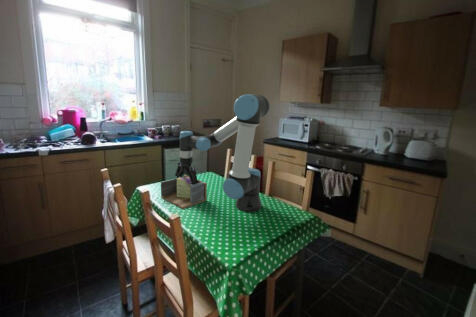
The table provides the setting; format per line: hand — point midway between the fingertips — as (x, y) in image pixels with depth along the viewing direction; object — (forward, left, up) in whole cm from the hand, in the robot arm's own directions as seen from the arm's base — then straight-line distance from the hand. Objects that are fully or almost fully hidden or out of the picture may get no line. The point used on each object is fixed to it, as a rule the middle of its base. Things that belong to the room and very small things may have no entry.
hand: (186, 190), depth 157 cm
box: (0, 0, -4) cm, 4 cm away
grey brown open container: (0, +2, -5) cm, 6 cm away
